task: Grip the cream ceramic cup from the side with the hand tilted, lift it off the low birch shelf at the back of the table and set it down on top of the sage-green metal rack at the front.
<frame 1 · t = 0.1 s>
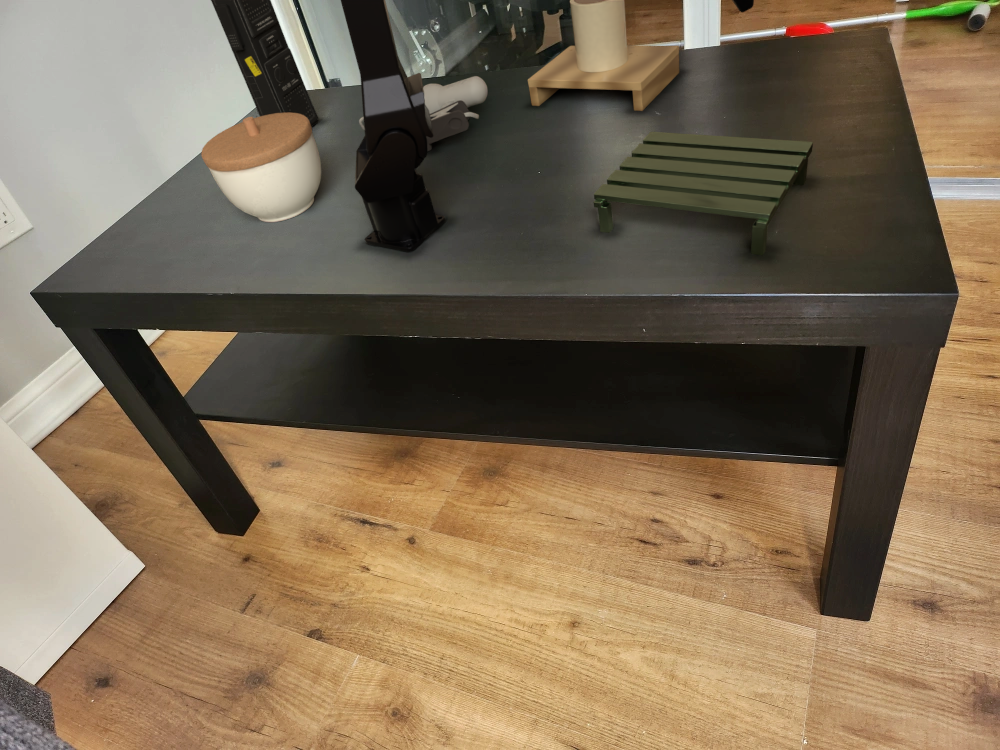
rack: (702, 206, 68), on the table
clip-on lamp: (425, 135, 95), on the table
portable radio: (293, 134, 105), on the table
cup: (602, 62, 92), point 3 cm above the table, touching shelf
shelf: (605, 89, 94), on the table
lidded bowl: (286, 208, 86), on the table
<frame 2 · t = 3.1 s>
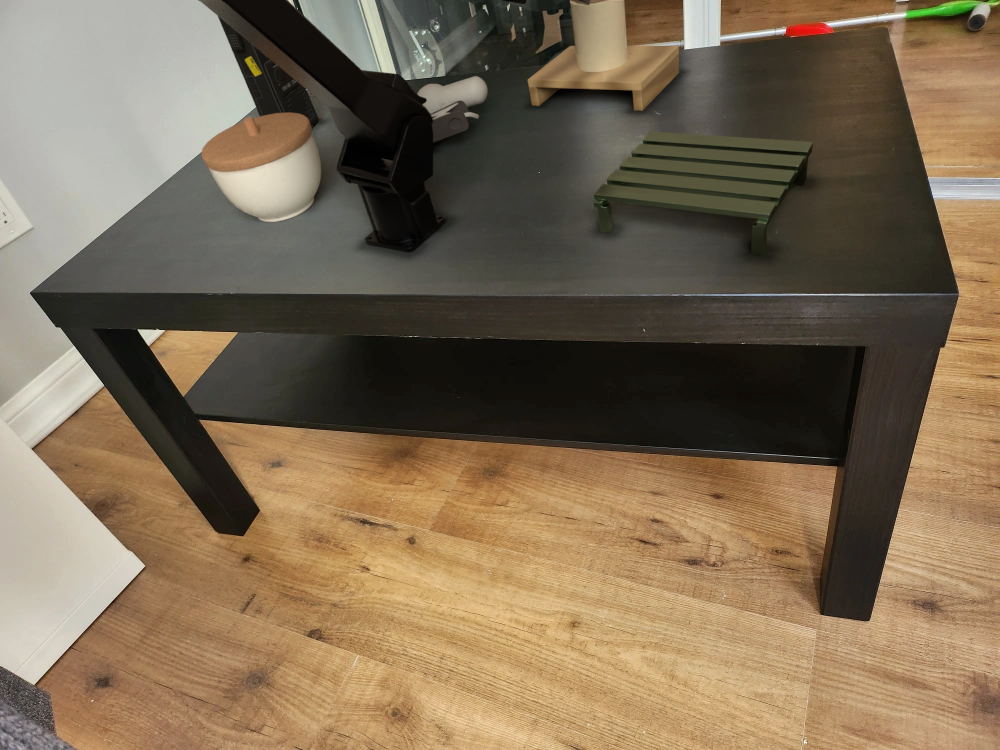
hand: (556, 0, 82), 14 cm above the table, tool tilted 45°, fingers open, 9 cm apart
nothing on the table moved.
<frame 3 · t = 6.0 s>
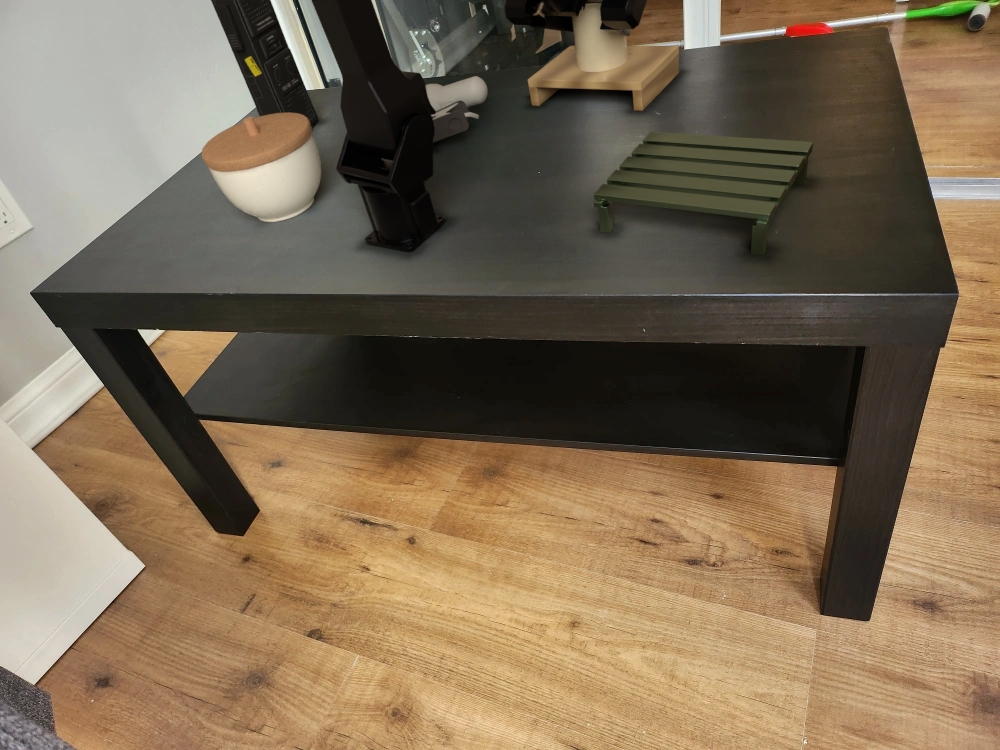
hand: (606, 31, 91), 7 cm above the table, tool tilted 45°, fingers closed on cup, 6 cm apart
cup: (602, 62, 92), point 4 cm above the table, touching gripper, shelf
everything else where it was.
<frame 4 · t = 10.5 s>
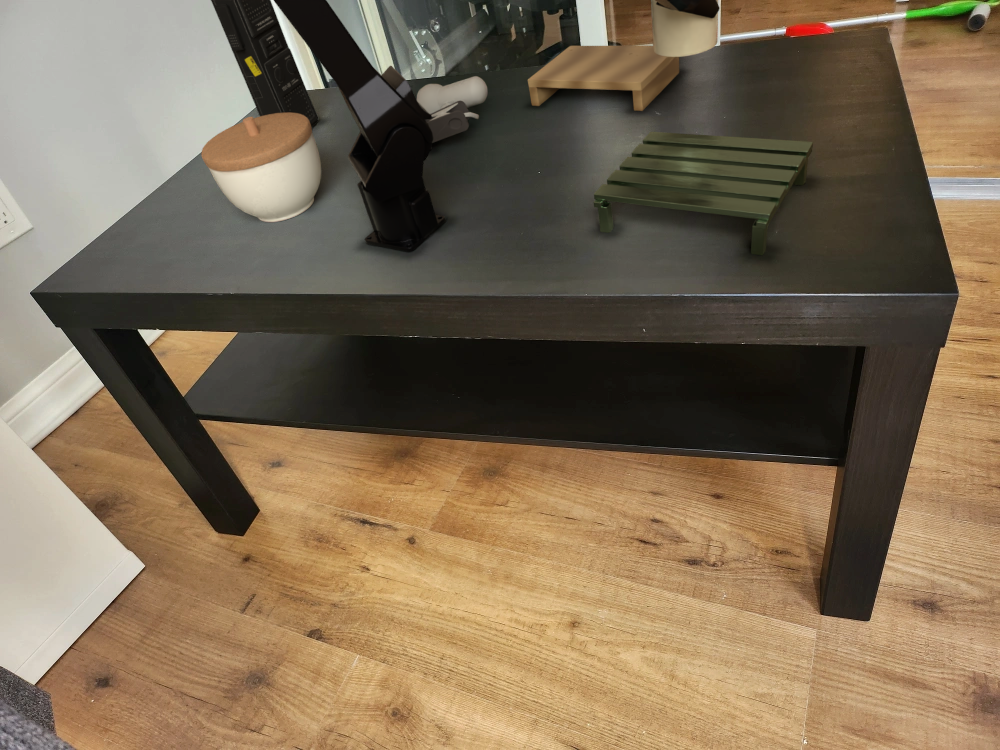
hand: (696, 7, 73), 13 cm above the table, tool tilted 45°, fingers closed on cup, 6 cm apart
cup: (684, 45, 75), point 9 cm above the table, touching gripper
everything else where it was.
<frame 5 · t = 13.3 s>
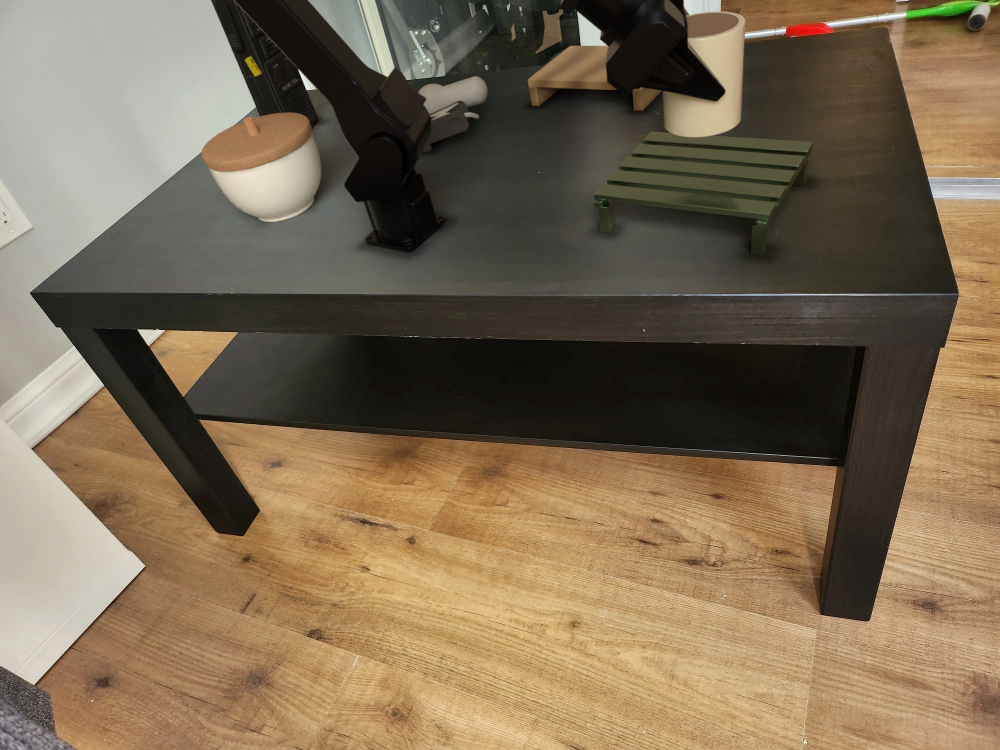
hand: (718, 80, 60), 12 cm above the table, tool tilted 45°, fingers closed on cup, 6 cm apart
cup: (702, 120, 62), point 8 cm above the table, touching gripper
everything else where it was.
when the fingers open (7 cm above the table, at t = 15.2 s): cup stays where it is, resting on rack.
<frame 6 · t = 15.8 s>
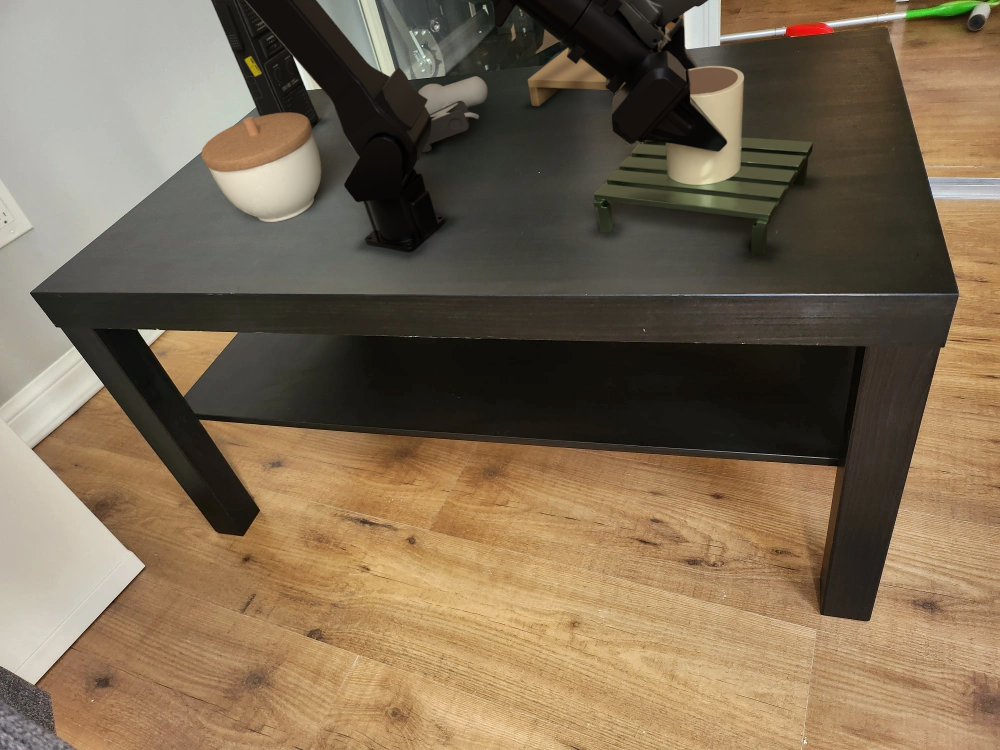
hand: (719, 123, 62), 8 cm above the table, tool tilted 45°, fingers open, 9 cm apart
cup: (703, 167, 65), point 4 cm above the table, touching rack
everything else where it was.
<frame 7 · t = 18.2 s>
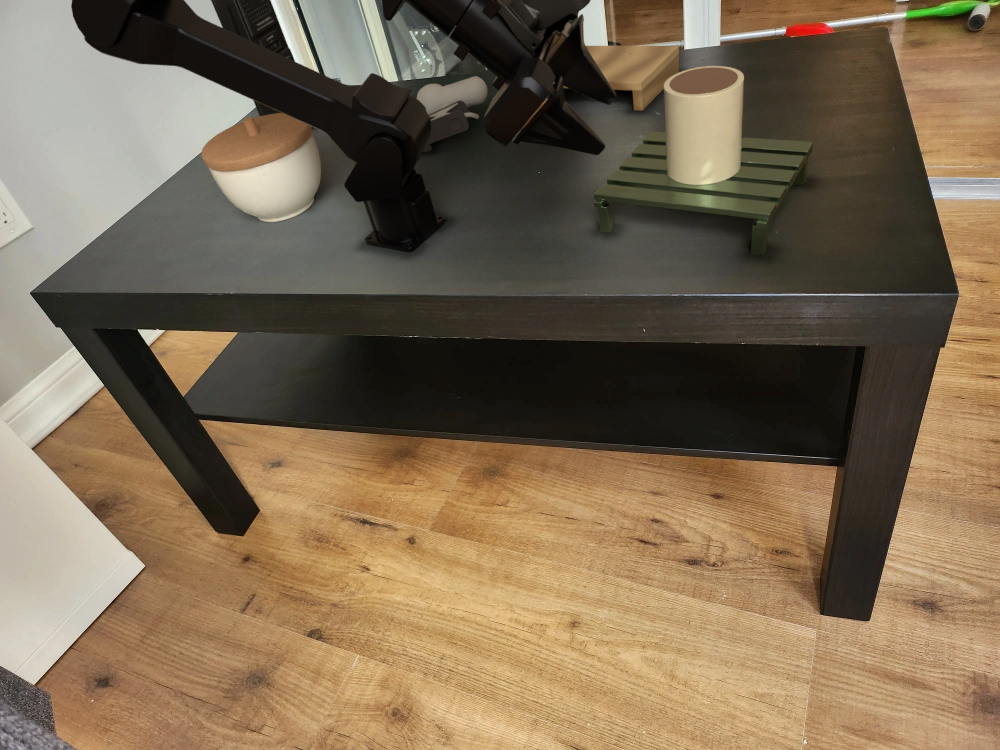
hand: (607, 124, 64), 9 cm above the table, tool tilted 45°, fingers open, 9 cm apart
nothing on the table moved.
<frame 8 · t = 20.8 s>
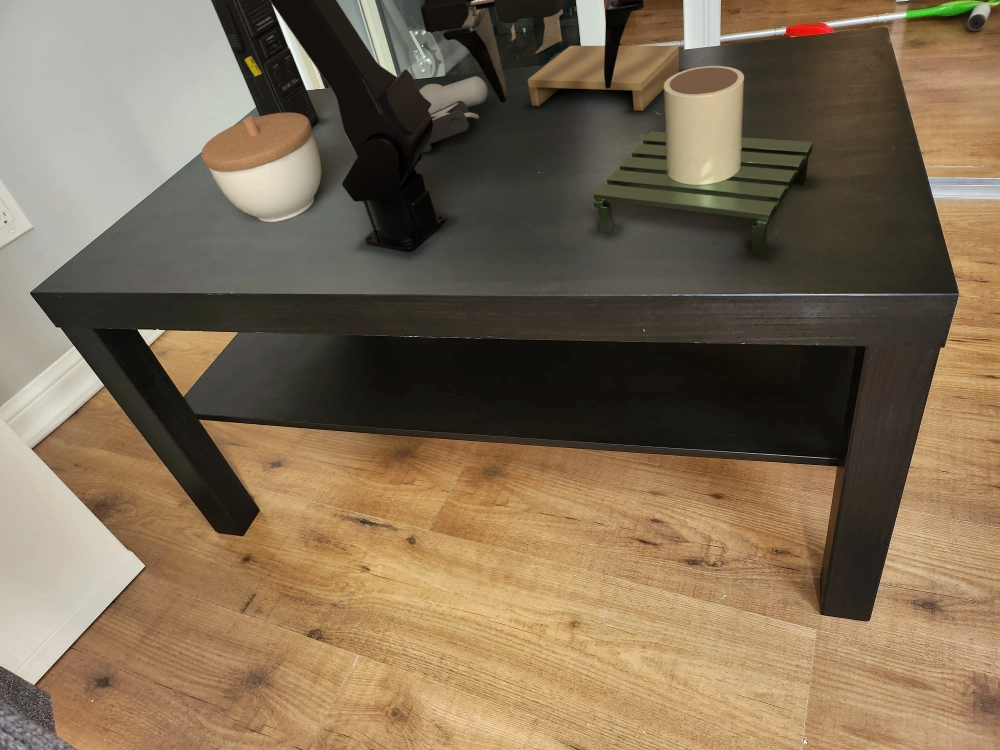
hand: (555, 94, 62), 13 cm above the table, tool pointing down, fingers open, 9 cm apart
nothing on the table moved.
at the end: cup inside the target area on the rack (0.1 cm from its centre), point 4.0 cm above the rack's base; cup tilted 0°; the gripper is holding nothing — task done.
